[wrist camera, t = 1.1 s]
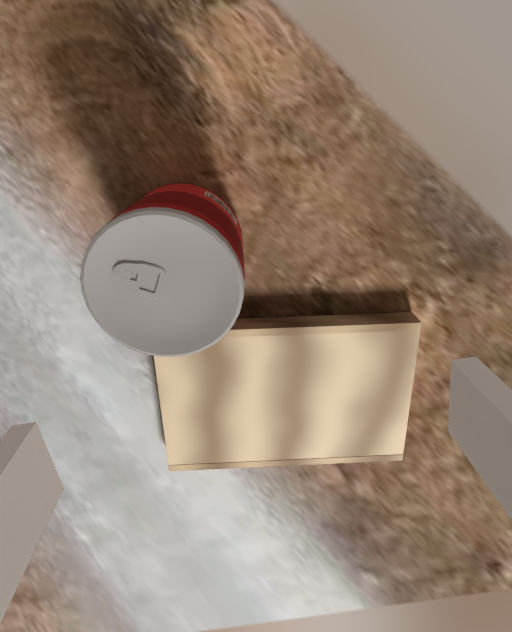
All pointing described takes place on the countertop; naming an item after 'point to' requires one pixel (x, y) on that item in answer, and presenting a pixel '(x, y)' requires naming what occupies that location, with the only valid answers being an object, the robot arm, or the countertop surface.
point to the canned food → (167, 272)
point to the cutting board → (292, 393)
